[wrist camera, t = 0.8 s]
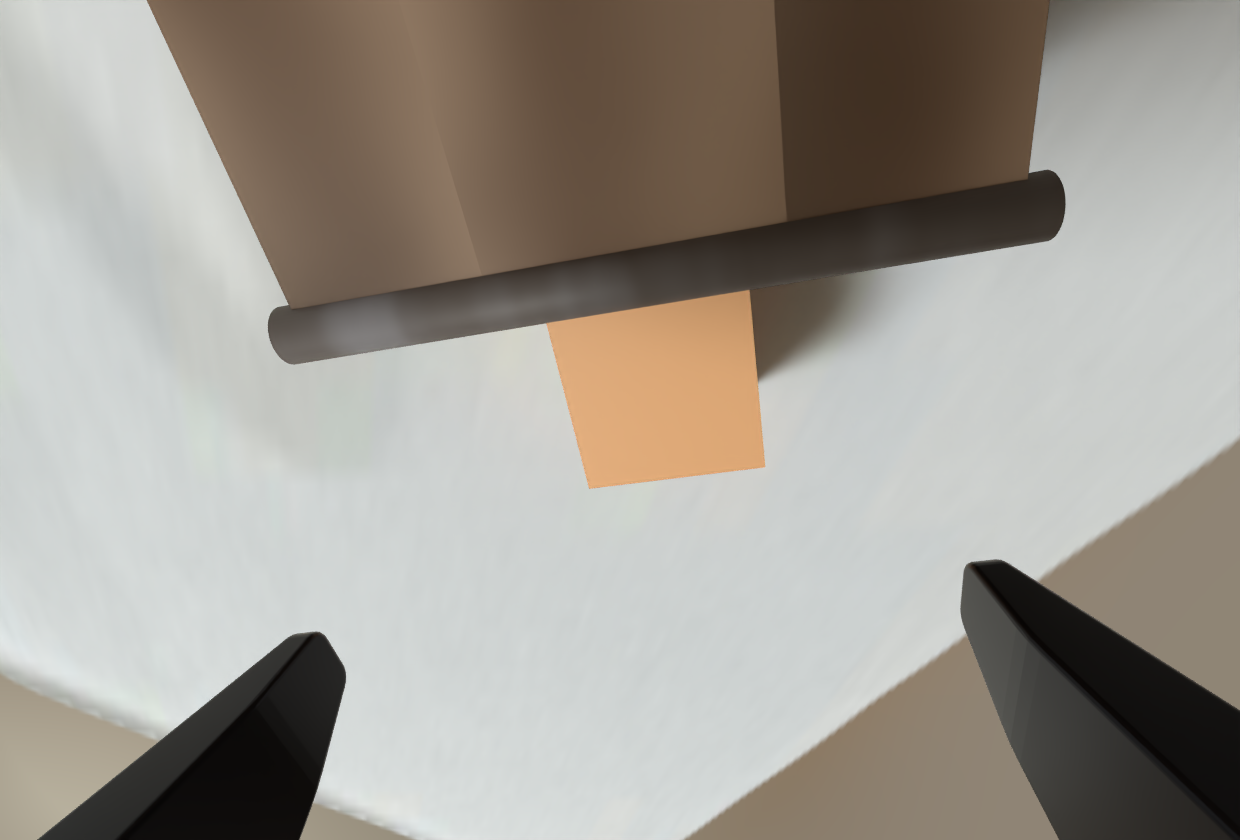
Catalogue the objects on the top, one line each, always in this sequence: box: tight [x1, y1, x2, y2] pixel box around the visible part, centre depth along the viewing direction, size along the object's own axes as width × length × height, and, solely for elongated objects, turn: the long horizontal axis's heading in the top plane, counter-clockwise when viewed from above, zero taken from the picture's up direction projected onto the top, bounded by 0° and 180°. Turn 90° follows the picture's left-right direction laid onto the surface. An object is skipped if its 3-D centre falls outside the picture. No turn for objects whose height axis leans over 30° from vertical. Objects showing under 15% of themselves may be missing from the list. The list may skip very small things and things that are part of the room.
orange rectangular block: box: [546, 290, 765, 489], centre depth 15 cm, size 4×10×4 cm, turn 11°
